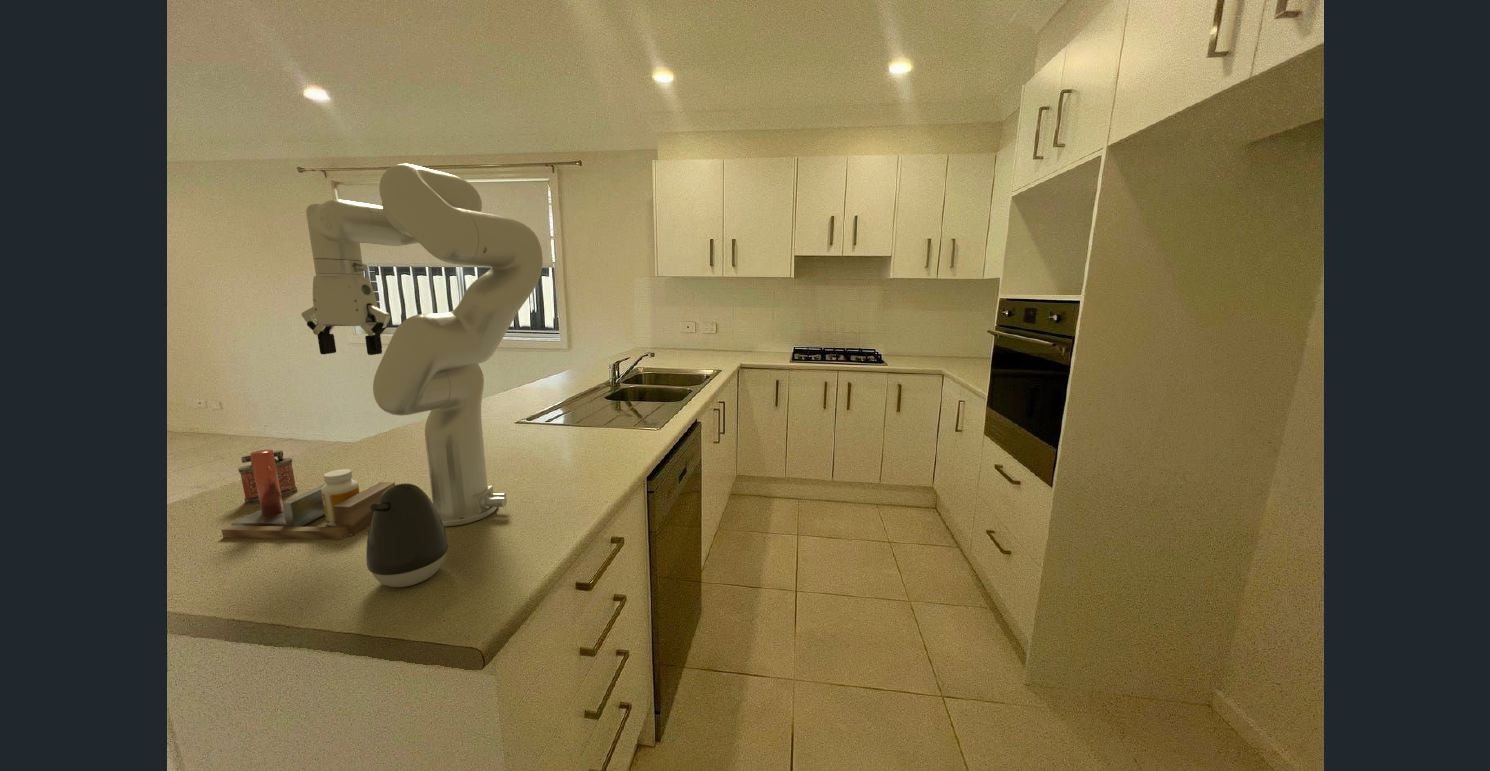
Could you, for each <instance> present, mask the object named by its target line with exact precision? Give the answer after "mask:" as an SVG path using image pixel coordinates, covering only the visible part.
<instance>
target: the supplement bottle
mask: <svg viewBox="0 0 1490 771" xmlns="http://www.w3.org/2000/svg"><path fill="white" fill-rule="evenodd" d="M352 478H353V472H352V469H348V468H342V469H334V470H331V471H328V472H326V473H324V474H323V480H324V484H326V485H324V484H323V485H324V486H323V487H322V489H321V493H322V499H323V505H324V511H325V515H324V516H325V521H326V524H327V525H328V527H336V522H335V516H334V509H333V506H335V505H337V504H339V503H341V502H343V501H345V500H347V499H348V498H350V497H352V496H354V495H356V494H358V493H360V487H359V482H358V481H357V480H356V479H352Z"/></svg>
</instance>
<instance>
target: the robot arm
mask: <svg viewBox="0 0 1490 771" xmlns="http://www.w3.org/2000/svg"><path fill="white" fill-rule="evenodd" d="M378 188H379V189H378V191H379V196H380V200H381V205H378V204H371V203H365V202H358V201H351V200H346V199H345V200H344V199H338V198H337V199H335V198H334V199H329V200H326V201H325V202H323V203H312V204H309V205H308V206H307V207H306V209H305V212H306V220H307V226H308V232H309V233H308V234H309V239H310V240H309V241H310V245H311V246H310V247H311V253H312V259H313V264H314V271H315V275H314V276H313V280H312V304H313V305H312V307H310V308H308V309H306V310H304V311H303V312H302V313H301V317H302V318H303V320H304V321H305V323H306V326H307V327H308V328H309V329H310V330H312V333H313V334H314V335H315V336H317V340H318V341H317V342H318V347H319V354H320V355H329V354H336V353H337V348H336V347H337V346H336V340H335V335H334V333H331V332H332V331H333V329H334V328H335V327H360V328H361V329H363V331H364V332H365V333H366V334H367V335H365V338H364V339H365V346H366V353H367V355H368V356H375V355H382V353H383V345H382V337H381V335H383V334H384V331H385V330H386V329H387V328H388V324H389V321H390V319H391V314H390V313H389V312H387V311H385V310H383V309H381V308H379V307H378V302H377V298H376V294H375V290H374V288H373V285H372V283H371V281H370V278H369V277H365V273H364V272H366V271H368V266H367V264H364V263H363V256H362V250H361V244H370V245H380V246H388V247H389V246H390V247H402V246H407V245H408V246H409V245H412V244H418V243H419V245H421V247H423V249H425V250H426V251H427V252H428V253H429V254H430V255H432V256H433V257H434V258H436V259H437V260H439V261H442V262H444V263H446V264H447V263H448V264H451V265H458V266H463V265H464V266H474V267H475V266H476V267H489V270H487V271H486V272H485V273H484V274H482V275H481V276H479V277H478V278H476V280H474V281H473V282H472V283H471V284H470V285H469V287H468V288H467V289H466V290H465V292H464V293H463V296H462V298H461V300H460V301H459V303H458V304H457V306H456V307H455V308H454V309H453V310H451V311H447V312H437V313H435V312H434V313H420V314H416V315H412V316H410V317H407V318H406V319H405V320H403V321H402V322H401V323H400V324H399V325H398V326H397V327H396V329H395V331H394V332H393V334H392V336H391V339H390V340H389V343H388V345H387V347H386V349H385V351H384V353H383V356H382V358H381V360H380V362H379V365H378V367H377V369H376V372H375V375H374V377H373V383H372V391H373V397H374V400H375V402H376V404H377V405H378V407H379V408H380V409H381V410H383V411H384V412H385V413H387V414H389V415H393V416H402V417H403V416H411V415H414V414H419V413H425V412H428V411H429V413H428V416H427V418H426V422H425V424H424V425H425V427H424V439H425V449H426V458H427V466H428V474H429V482H430V490H431V499H432V500H431V501H432V503H433V505H434V506H435V508H436V510H437V512H438V514H439V516H440V518H441V521H442V523H443V526H444V527H454V526H460V525H466V524H470V523H473V522H476V521H479V520H481V519H484V518H486V517H488V516H490V515H492V514H493V513H494V512H495V511H496V510H497V508H506V506H507V503H508V499H507V493H505V492H502V493H501V492H498V493H496V492H495V491H494V485H488V477H487V467H486V457H485V447H484V432H483V421H482V400H483V393H484V384H485V382H484V380H485V379H484V373H483V370H482V368H481V366H480V365H479V364H481V363H482V364H483V363H485V362H487V361H488V360H489V359H491V357H492V356H493V355H494V354H495V352H496V350H497V348H498V347H499V346H500V344H501V342H502V340H503V338H504V337H505V335H506V333H507V332H508V330H509V328H510V326H511V325H512V323H513V321H514V319H515V318H516V316H517V314H518V312H519V311H520V309H522V307H523V306H524V304H525V303H526V301H527V300H528V299H529V297H530V296H531V294H532V293H533V291H534V290H535V288H536V286H537V285H538V283H539V280H540V278H541V275H542V269H543V261H544V260H543V250H542V246H541V243H540V241H539V238H538V236H537V235H536V234H535V232H534V231H533V230H532V229H531V228H530V227H529V226H527V225H526V224H525V223H522V222H521V221H519V220H516V219H513V218H511V217H510V218H509V217H506V216H502V215H497V214H492V213H487V212H482V208H483V202H482V198H481V196H480V194H479V192H478V190H477V188H475V186H473V185H472V184H471V183H470V182H468V181H467V180H465V179H463V178H462V177H459V176H457V175H454V174H450V173H448V172H443V171H438V170H434V169H430V168H426V167H423V166H420V165H415V164H410V163H398V164H395V165H392V166H390V167H389V168H388V169H386V170H385V171H384V173H383V174H382V175H381V178H380V181H379V187H378Z"/></svg>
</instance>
